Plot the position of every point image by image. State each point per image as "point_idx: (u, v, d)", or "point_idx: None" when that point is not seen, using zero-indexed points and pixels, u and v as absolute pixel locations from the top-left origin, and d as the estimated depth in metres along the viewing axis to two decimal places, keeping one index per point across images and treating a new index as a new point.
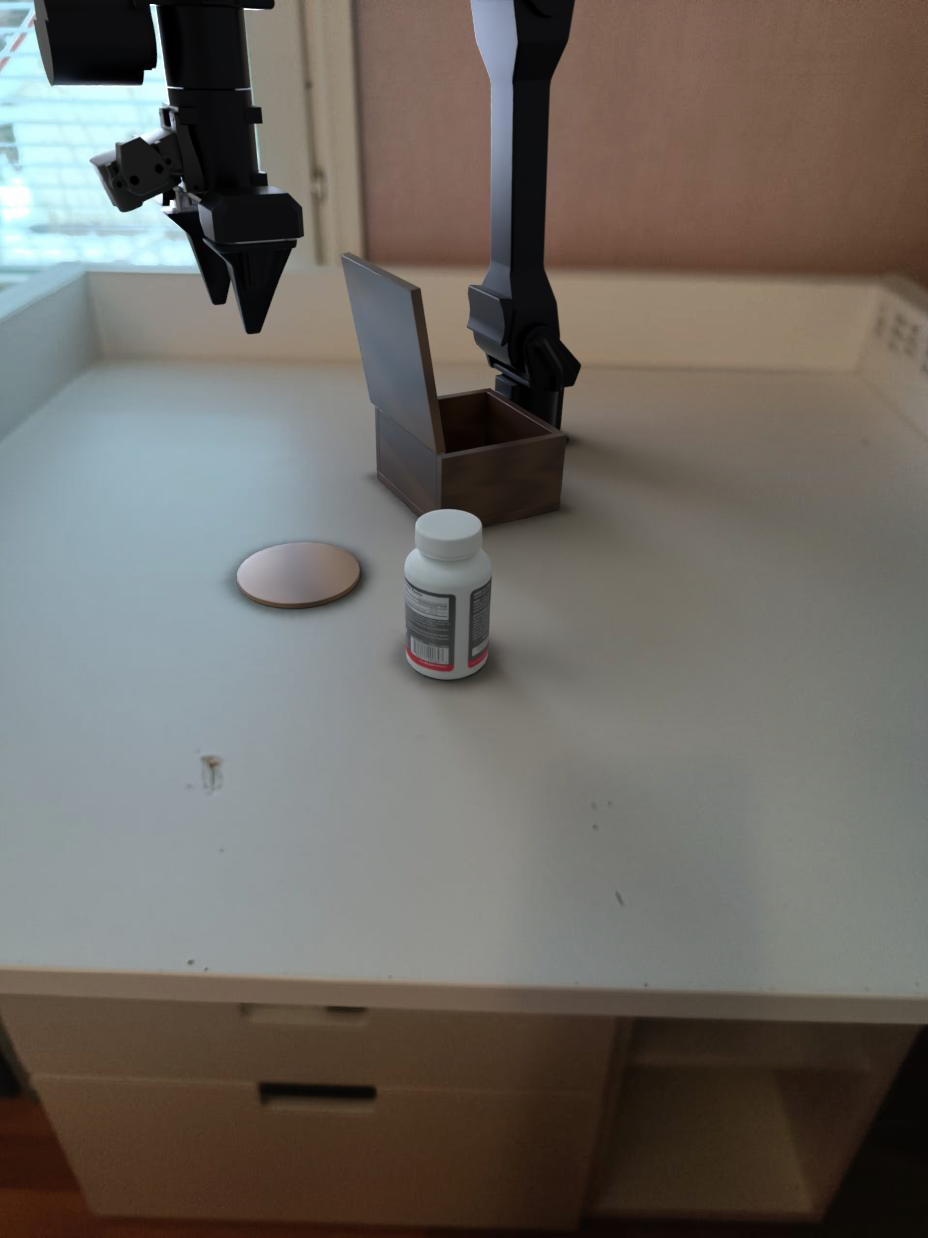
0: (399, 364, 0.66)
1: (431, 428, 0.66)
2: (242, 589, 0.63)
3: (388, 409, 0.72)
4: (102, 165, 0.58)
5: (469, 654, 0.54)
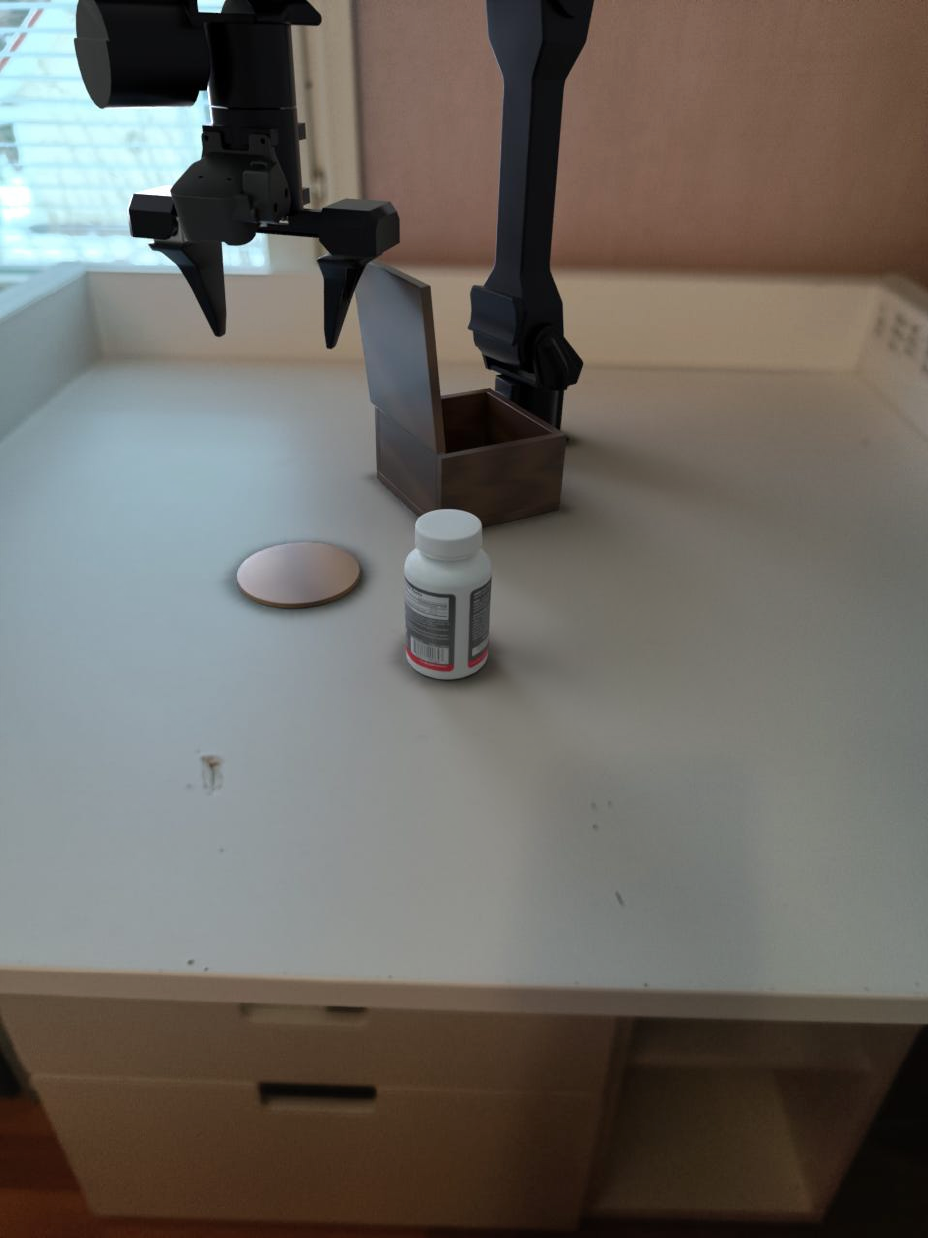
0: (403, 363, 0.66)
1: (433, 427, 0.66)
2: (242, 589, 0.63)
3: (389, 408, 0.72)
4: (231, 197, 0.54)
5: (469, 654, 0.54)
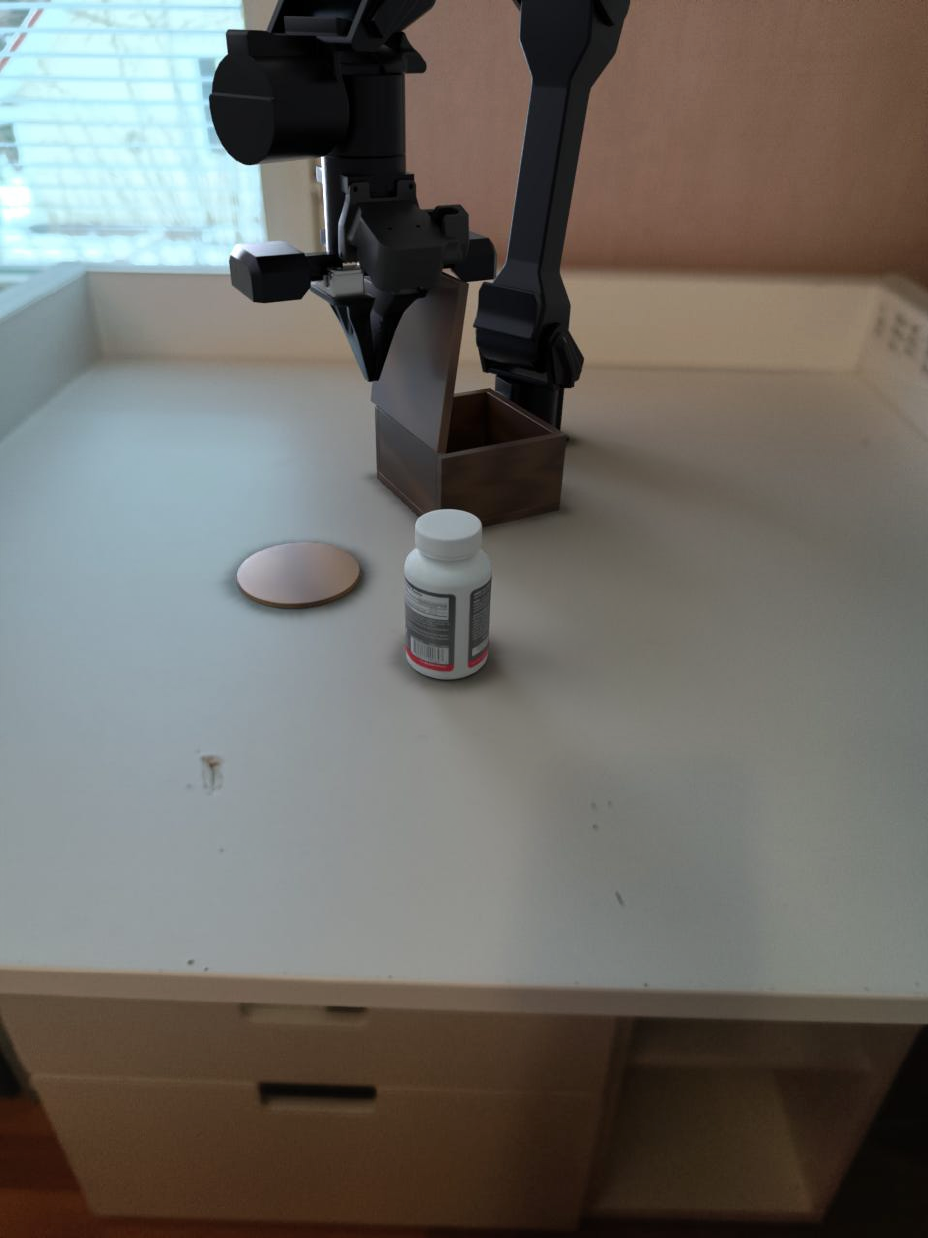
0: (420, 359, 0.67)
1: (439, 425, 0.66)
2: (242, 589, 0.63)
3: (391, 407, 0.72)
4: (446, 242, 0.56)
5: (469, 654, 0.54)
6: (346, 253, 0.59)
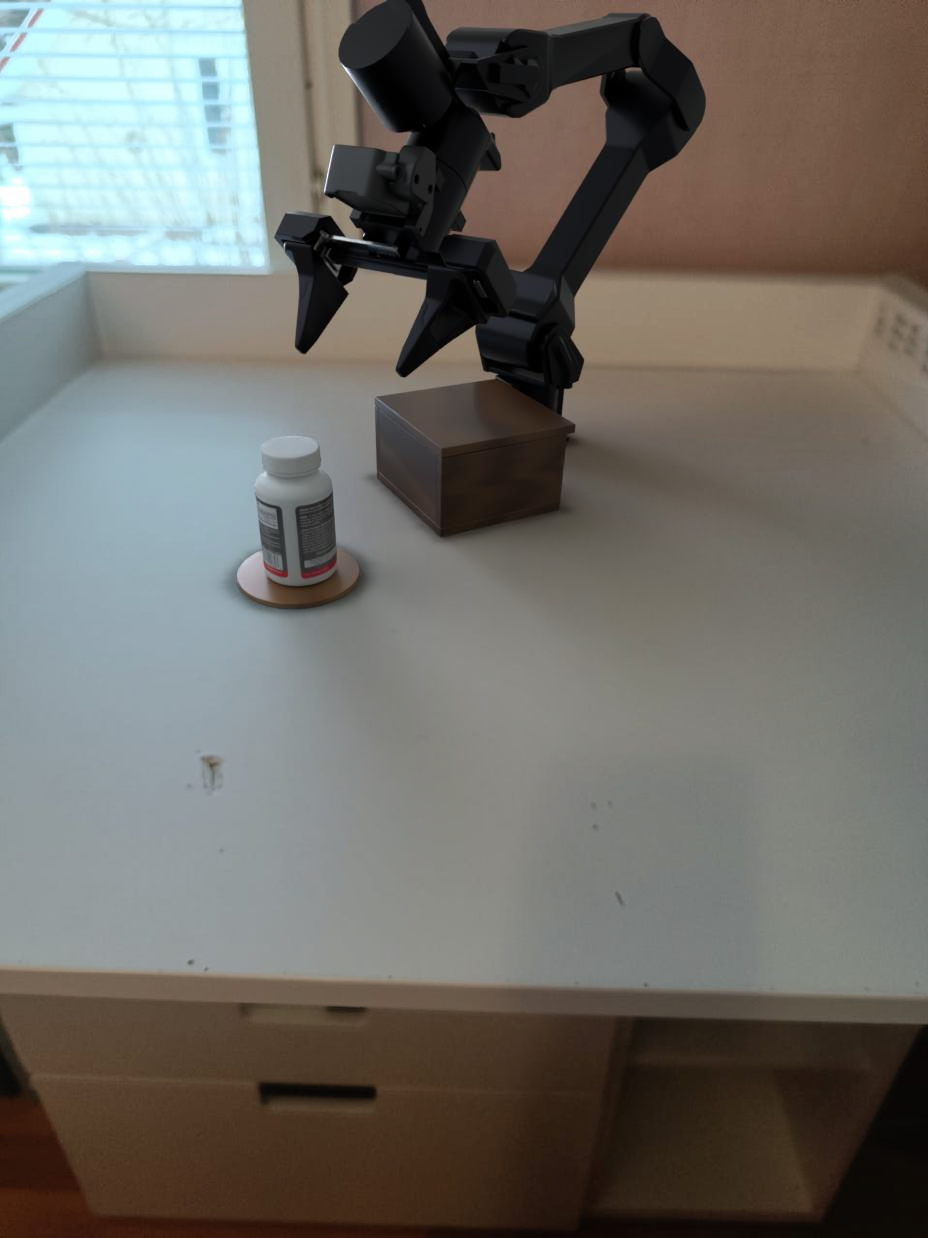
0: (481, 418, 0.72)
1: (464, 442, 0.68)
2: (242, 589, 0.63)
3: (403, 410, 0.73)
4: (383, 150, 0.57)
5: (302, 566, 0.62)
6: (352, 211, 0.64)
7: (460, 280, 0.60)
